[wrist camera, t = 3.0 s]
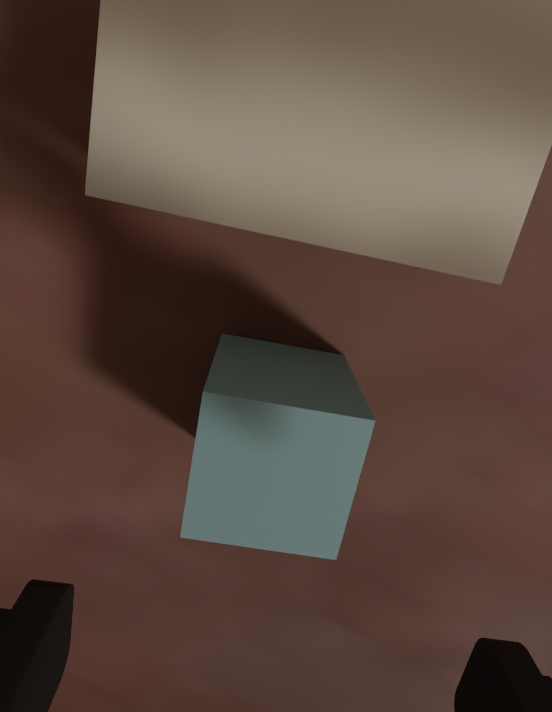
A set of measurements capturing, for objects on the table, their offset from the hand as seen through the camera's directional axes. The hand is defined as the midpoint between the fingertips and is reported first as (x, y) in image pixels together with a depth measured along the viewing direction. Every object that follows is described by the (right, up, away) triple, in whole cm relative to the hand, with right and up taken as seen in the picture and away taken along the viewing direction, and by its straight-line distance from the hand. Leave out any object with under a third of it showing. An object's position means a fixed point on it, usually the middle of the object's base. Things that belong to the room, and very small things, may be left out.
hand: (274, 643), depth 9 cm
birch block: (+2, +16, +7) cm, 17 cm away
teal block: (0, +4, +11) cm, 11 cm away
